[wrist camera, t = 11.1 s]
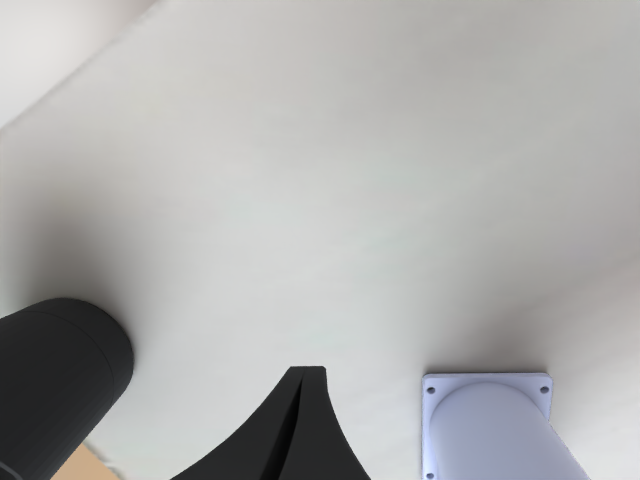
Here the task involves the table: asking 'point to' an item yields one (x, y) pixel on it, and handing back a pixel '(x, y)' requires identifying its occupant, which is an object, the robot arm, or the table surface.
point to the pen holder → (56, 382)
